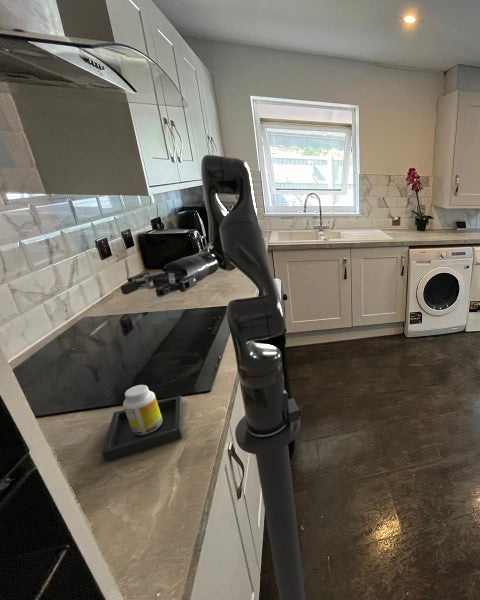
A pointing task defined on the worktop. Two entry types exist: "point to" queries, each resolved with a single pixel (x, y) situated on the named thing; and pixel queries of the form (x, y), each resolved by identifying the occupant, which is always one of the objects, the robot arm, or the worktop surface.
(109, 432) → the shallow tray
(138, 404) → the supplement bottle
